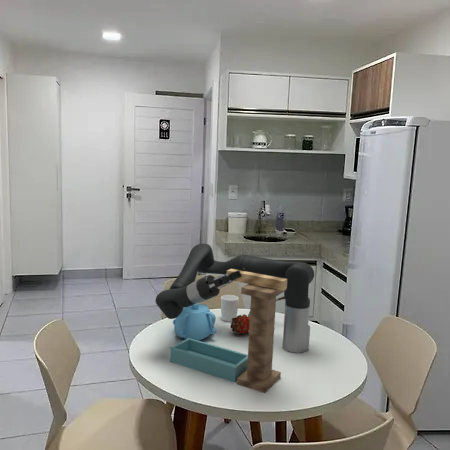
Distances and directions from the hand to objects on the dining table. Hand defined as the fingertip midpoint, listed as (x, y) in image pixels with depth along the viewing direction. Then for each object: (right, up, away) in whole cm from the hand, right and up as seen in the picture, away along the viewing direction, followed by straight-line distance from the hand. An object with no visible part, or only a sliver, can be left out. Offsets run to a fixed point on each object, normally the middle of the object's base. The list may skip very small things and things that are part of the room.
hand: (242, 272), depth 145 cm
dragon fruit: (+1, -30, +41) cm, 51 cm away
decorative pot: (-18, -30, +36) cm, 50 cm away
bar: (+4, -3, -2) cm, 6 cm away
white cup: (-4, -27, +56) cm, 62 cm away
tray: (-11, -33, +11) cm, 37 cm away
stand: (+5, -36, +1) cm, 36 cm away
